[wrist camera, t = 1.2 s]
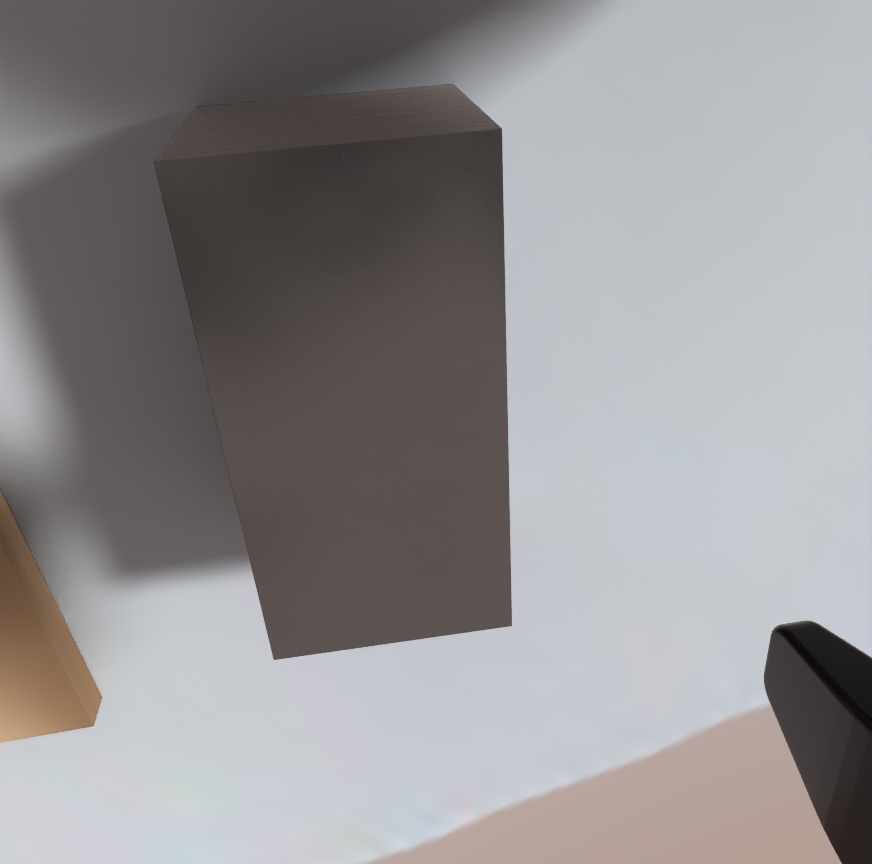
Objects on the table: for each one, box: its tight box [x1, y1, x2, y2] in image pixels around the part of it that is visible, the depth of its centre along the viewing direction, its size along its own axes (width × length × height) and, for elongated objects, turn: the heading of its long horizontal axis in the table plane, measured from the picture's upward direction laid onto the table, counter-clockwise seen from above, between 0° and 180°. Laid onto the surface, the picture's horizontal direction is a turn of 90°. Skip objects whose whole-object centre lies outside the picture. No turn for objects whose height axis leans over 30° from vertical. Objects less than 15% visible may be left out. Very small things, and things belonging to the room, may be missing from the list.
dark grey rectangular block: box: [154, 84, 512, 660], centre depth 16 cm, size 5×10×5 cm, turn 4°
